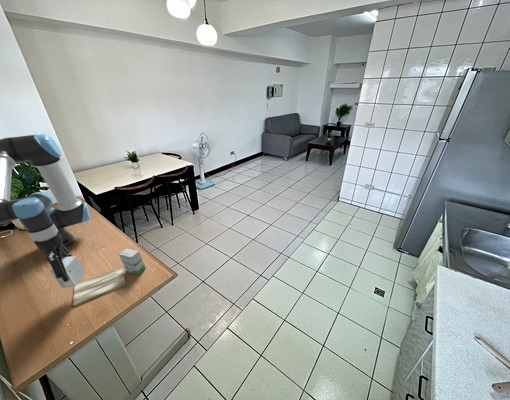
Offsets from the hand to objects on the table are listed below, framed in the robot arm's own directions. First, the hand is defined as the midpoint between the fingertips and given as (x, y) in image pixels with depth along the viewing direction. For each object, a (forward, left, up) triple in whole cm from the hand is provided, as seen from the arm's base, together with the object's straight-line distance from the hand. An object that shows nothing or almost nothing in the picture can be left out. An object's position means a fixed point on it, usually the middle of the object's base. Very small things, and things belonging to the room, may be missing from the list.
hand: (71, 277), depth 93 cm
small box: (0, 0, -2) cm, 2 cm away
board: (0, +8, -11) cm, 13 cm away
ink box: (-1, +23, -11) cm, 26 cm away
